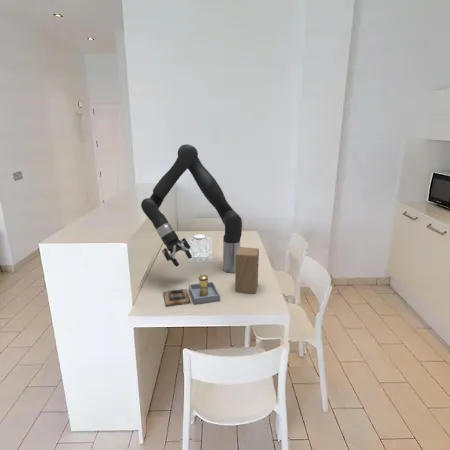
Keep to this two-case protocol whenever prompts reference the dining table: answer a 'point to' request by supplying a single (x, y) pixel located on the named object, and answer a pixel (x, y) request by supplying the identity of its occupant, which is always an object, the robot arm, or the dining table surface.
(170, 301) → the pin dock
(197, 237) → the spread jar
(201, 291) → the pin
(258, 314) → the dining table surface
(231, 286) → the dining table surface
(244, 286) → the wooden block
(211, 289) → the tray
